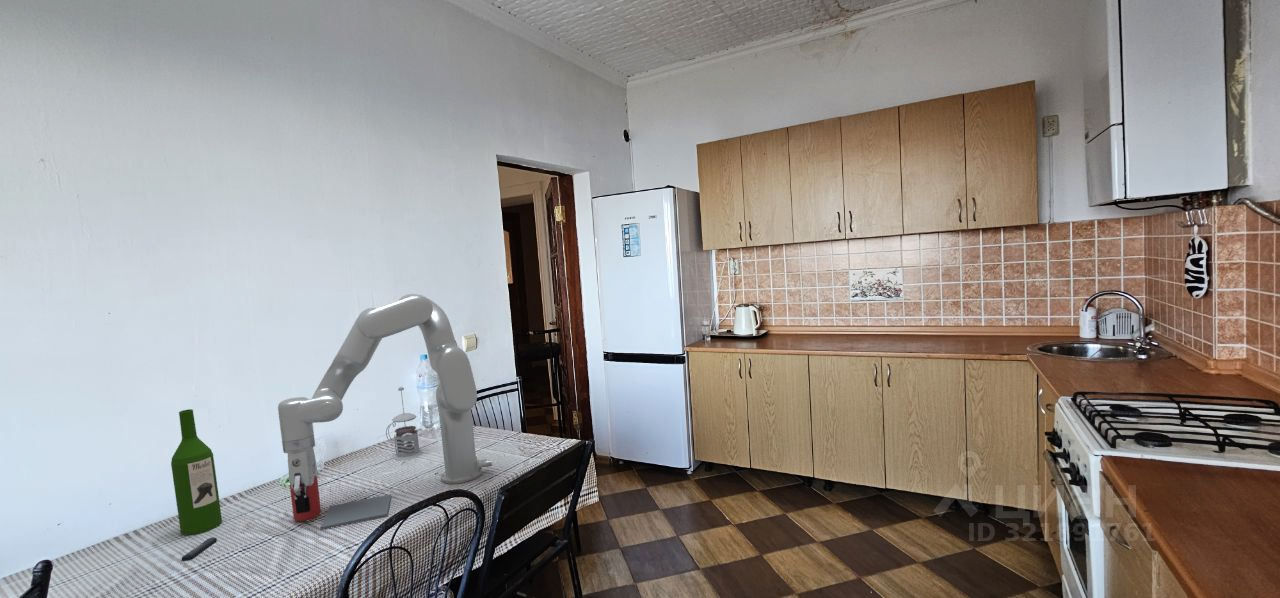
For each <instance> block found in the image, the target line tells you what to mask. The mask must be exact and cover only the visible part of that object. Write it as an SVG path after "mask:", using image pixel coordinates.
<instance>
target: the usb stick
mask: <svg viewBox="0 0 1280 598" xmlns="http://www.w3.org/2000/svg"><path fill="white" fill-rule="evenodd" d="M217 541H218V539H217V537H213V536H212V537H209V538H207V539H206V540H204V541H203V542H201V543H200V544H199V545H197V546H196V547H194V548H193V549H191V550H190V551H188V552H187V553H185V555H183V556H181V561H182V562H186V561H187V562H188V561H191V560H194V558H196V557H197V556H199V555H200V554H201V553H203V552H204V551H206V550H207V549H209V548H210V547H212V546H213V545H214V544H215V543H217ZM212 544H213V545H212ZM209 546H210V547H209ZM205 549H206V550H205ZM198 554H199V555H198Z"/></svg>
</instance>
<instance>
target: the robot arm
mask: <svg viewBox="0 0 1280 598" xmlns="http://www.w3.org/2000/svg"><path fill="white" fill-rule="evenodd" d="M417 326H418V328H419V329H420V331H421V333H422V336H423V341H424V343H425V346H426V351H427V355H428V358H429V364H430V367H431V370H433V371H434V372H435V373H436V374H437V376H438V379H439V383H438V385H437V387H436V390H435V391H436V392H435V399H436V404H437V410H438V415H439V423H440V435H441V445H442V456H443V462H444V464H443V465H444V471H443V472H442V473H441V474H440V481H441V482H442V483H445V484H462V483H467V482H469V481H473V480H475V479H477V478H479V477H480V476H481V475H482V474H483V468H485V467H486V468H487V467H492V466H493V465H492V459H489V460H488V459H487V458H484V459H478V457H477V455H476V444H475V435H474V433H475V432H474V425H473V423H474V422H473V416H472V415H473V414H472V409H473V408H474V407H475V405H476V403H477V400H478V399H477V398H478V393H477V386H476V381H475V377H474V374H473V371H472V365H471V363H470V360H469V357H468V355H467V353H466V352H465V351H464V350H463V349H462V348H461V347H458V344H457V343H456V342H457V341H456V338H455V335H454V332H453V328H452V326H451V323H450V320H449V318H448V316H447V314H446V312H445V310H443V308H441V306H440V305H438V304H437V303H436V302H435V301H433V300H431V299H430V298H428V297H427V296H424V295H422V294H417V293H409V294H405V295H403V296H401V297H400V298H399V299H398V300H397V301H396V302H395V301H394V302H393V303H389V304H387V305H386V304H385V305H383V306H380V307H369V308H366V309H364V310H362V311H361V312H360V313H359V315H358V317H357V318H356V319H355V321H354V322H353V325H352V327H351V329H350V330H349V332H348V334H347V336H346V338H345V339H344V341H343V343H342V345H341V347H340V348H339V349H338V351H337V354H335V356H334V358H333V360H332V362H331V364H330V365H329V367H328V369H327V371H326V372H325V373H324V375H323V377H322V379H321V381H320V382H319V384H318V386H317V388H316V389H315V391H314V393H313V395H312V397H311V398H308V397H306V396H305V397H304V396H298V397H292V398H287V399H284V400H282V401H280V402H279V403H278V405H277V411H278V413H277V414H278V420H279V427H280V435H281V437H280V438H281V443H282V444H281V445H282V452H283V453H284V454H287V464H288V465H287V467H288V479H289V486H290V485H291V488H292V489H294V494H295V505H296V513H297V514H299V513H304V512H309V511H310V502H309V496H308V497H307V486H311V485H312V484H313V483H314V476H316V477H317V478H318V475H319V474H318V473H319V472H318V471H319V470H318V467H317V460H316V455H315V450H314V447H315V446H316V440H315V434H314V433H315V432H314V423H318V424H319V423H329V422H333V421H334V420H337V419H338V418H339V417H340V416H341V415H342V413H343V410H344V404H343V401H342V400H343V398H344V396H345V395H346V393H347V391H348V389H349V388H350V385H351V384H352V382H353V381H354V380H355V378H356V377H357V376H358V375H359V374H360V373H362V372H363V371H364V370H365V369H366V368H367V367H368V365H369V363H370V361H371V360H372V358H373V355H374V354H375V352H376V350H377V348H378V346H379V345H380V343H381V341H382V340H383V338H388V337H390V336H393V335H397V334H399V333H402V332H403V331H406V330H410V329H413V328H415V327H417ZM294 482H295V484H294ZM301 484H305V486H301ZM301 489H304V491H303V490H301Z"/></svg>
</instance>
